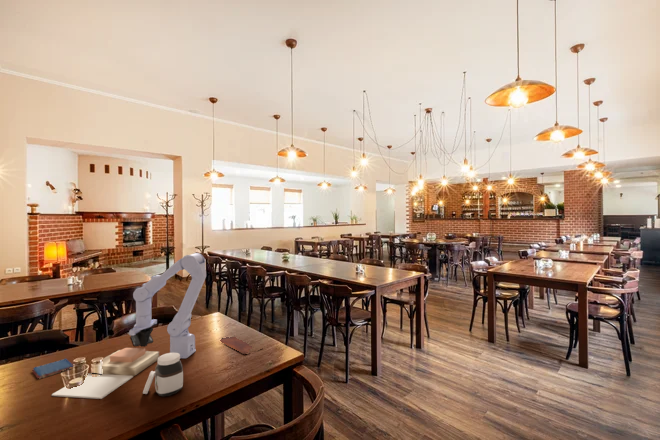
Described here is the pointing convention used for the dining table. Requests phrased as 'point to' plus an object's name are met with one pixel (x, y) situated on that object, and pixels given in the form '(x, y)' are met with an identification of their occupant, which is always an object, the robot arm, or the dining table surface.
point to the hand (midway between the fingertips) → (143, 346)
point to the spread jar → (166, 375)
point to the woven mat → (51, 368)
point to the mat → (94, 386)
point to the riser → (129, 364)
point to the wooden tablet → (236, 344)
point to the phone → (136, 340)
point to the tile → (128, 354)
